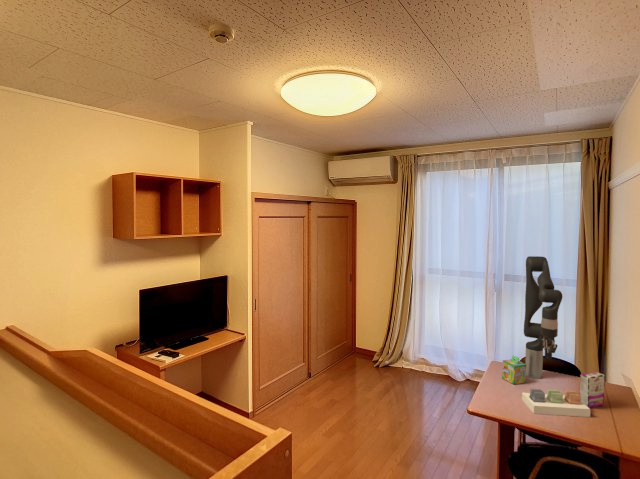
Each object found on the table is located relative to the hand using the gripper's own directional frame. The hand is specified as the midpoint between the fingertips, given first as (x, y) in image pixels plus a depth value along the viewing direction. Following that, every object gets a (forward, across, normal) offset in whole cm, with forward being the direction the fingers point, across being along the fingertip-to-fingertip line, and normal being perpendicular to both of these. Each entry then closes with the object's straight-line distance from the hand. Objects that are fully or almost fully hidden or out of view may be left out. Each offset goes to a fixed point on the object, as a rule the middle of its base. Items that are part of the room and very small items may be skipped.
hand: (548, 358), depth 194 cm
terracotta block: (+21, +8, +9) cm, 24 cm away
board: (+23, +8, 0) cm, 24 cm away
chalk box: (+23, -23, -8) cm, 34 cm away
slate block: (+21, +8, -8) cm, 24 cm away
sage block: (+21, +8, 0) cm, 22 cm away
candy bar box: (+23, +2, +21) cm, 31 cm away
